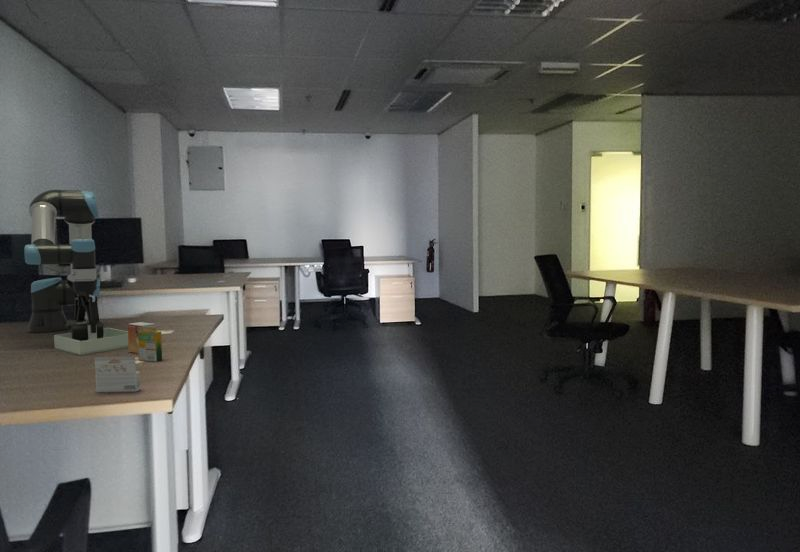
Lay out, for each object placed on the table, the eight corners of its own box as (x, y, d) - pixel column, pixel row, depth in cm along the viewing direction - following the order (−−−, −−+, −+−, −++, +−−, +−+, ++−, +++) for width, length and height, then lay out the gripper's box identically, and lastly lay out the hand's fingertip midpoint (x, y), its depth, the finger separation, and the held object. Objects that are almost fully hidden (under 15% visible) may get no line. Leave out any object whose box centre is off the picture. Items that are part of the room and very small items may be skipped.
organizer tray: (54, 347, 197) (53, 334, 197) (109, 339, 213) (108, 327, 213) (80, 355, 184) (79, 341, 184) (136, 346, 200) (136, 333, 200)
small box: (128, 352, 190) (127, 323, 189) (142, 349, 194) (141, 321, 194) (142, 354, 186) (141, 325, 185) (156, 351, 191) (155, 323, 190)
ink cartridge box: (100, 390, 143) (98, 354, 142) (141, 389, 143) (139, 354, 142) (95, 392, 140) (93, 356, 139) (137, 392, 140) (135, 356, 140)
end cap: (73, 344, 190) (72, 326, 190) (70, 341, 196) (69, 323, 195) (104, 340, 197) (103, 323, 196) (100, 338, 202) (99, 320, 202)
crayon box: (162, 359, 178) (161, 326, 177) (156, 361, 175) (155, 327, 174) (144, 358, 180) (143, 325, 179) (138, 360, 177) (137, 326, 176)
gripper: (61, 279, 198) (64, 338, 199) (86, 282, 186) (89, 345, 187) (83, 278, 204) (85, 335, 205) (108, 280, 192) (111, 341, 193)
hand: (87, 340), depth 196 cm, fingers closed on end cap, 8 cm apart
